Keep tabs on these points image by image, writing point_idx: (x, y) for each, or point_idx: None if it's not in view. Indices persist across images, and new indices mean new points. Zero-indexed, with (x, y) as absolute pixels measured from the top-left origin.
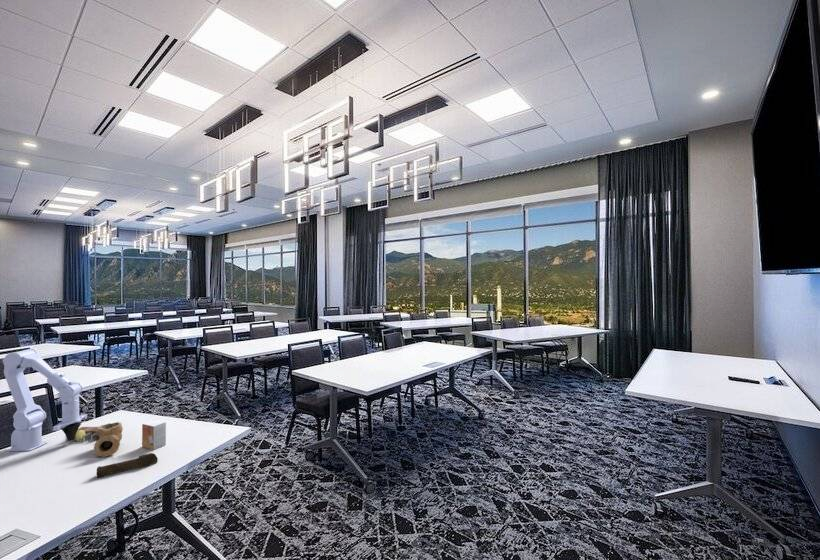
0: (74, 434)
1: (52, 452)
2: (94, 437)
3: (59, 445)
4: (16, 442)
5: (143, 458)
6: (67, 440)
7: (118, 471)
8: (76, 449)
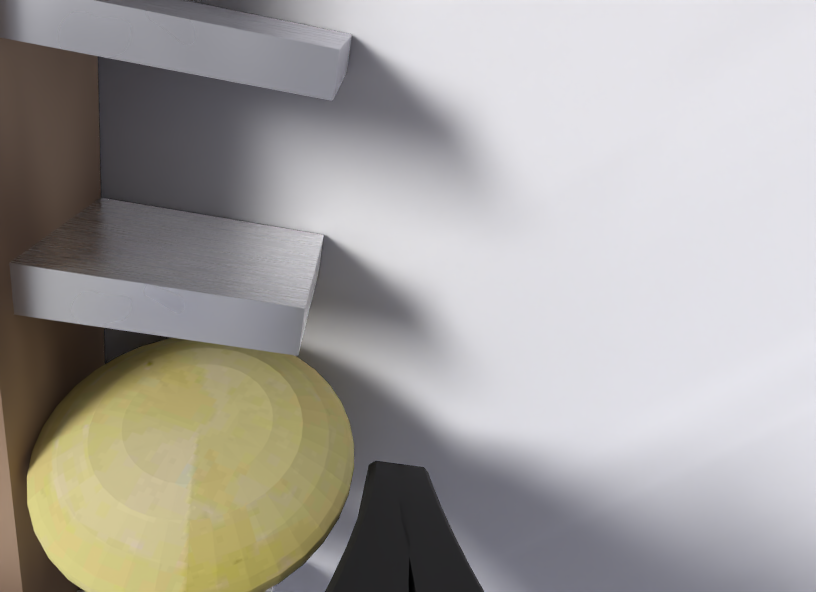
0: (398, 553)
1: (698, 508)
2: (259, 25)
3: None
4: None
5: None
6: None
7: None
8: (738, 158)
